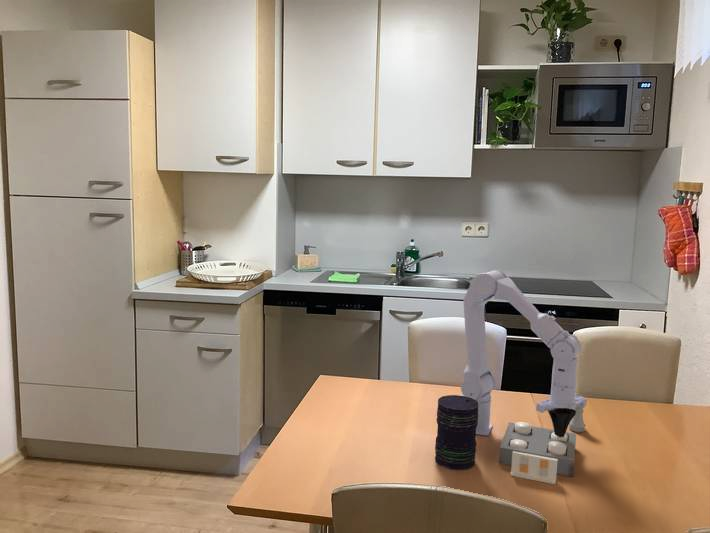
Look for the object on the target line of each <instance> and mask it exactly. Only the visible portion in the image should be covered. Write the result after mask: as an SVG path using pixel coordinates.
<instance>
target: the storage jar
mask: <svg viewBox="0 0 710 533" xmlns="http://www.w3.org/2000/svg"><path fill="white" fill-rule="evenodd" d="M459 395H460V394H458V395H456V394H452V395H443V396H441V397H439V398H437V399H438V400H437V409H436V424H437V432H436V437H435V445H434V452H435V457H434V461H435V463H436V464H437V465H439V466H440V467H442V468H444V469H447V470H453V471H465V470H469V469H473V467H474V466H476V455H477V440H476V437H477V436H476V435H477V434H476V428H477V424H478V402H477V401H476V400H474V399H472V398H469V397H466V396H459Z"/></svg>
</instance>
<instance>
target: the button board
mask: <svg viewBox="0 0 710 533" xmlns="http://www.w3.org/2000/svg"><path fill="white" fill-rule="evenodd" d="M515 423H516V422H515ZM515 423H514V422H508V424H507V427H506V429H505V433H504V434H503V437H502V440H501V443H500V445H499V453H498V464H503V465H509V466H512V452H513V451H515V452H521V453H526V454H532V455H537V456H542V457H548V458H553V459H558V461H557V474H556V475H561V476H565V477H567V476H568V477H571V478H573V475H574V466H575V456H576V455H575V454H576V453H575V452H576V443H577V442H576V441H577V433H576V432H575V433H574V432H570V431H566V433H565V434H566V435H567V436H568V438H567V441H561V440H555V439H551V433H553V432H554V429H550V428H546V427H545V428H544V427H538V426H532V425H531V435H526V434H520V433H515ZM514 439H518V440H523V441H525V442H526V443H527V449H523V448H517V447H512V446H510V441H511V440H514ZM552 441H557V442H562V443H564V444H565V445H566V456H562V455H556V454H551V453H548V447H549V442H552Z"/></svg>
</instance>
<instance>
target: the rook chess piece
mask: <svg viewBox="0 0 710 533" xmlns="http://www.w3.org/2000/svg"><path fill="white" fill-rule="evenodd" d="M585 407H586V406H582V405H581V406H576V408H575V409H574V410H575V411H576V415H575V416H574V417H573V418H572V420H571V421H570V423H569V425H568V428H569V430H570V431H571V432H573V433H574V432H575V433H584V432H585V431H586V423H585V421H584V417H583V416H584V414H583V413H584V412H585V410H584V408H585Z"/></svg>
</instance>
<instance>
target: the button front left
mask: <svg viewBox="0 0 710 533" xmlns="http://www.w3.org/2000/svg"><path fill="white" fill-rule="evenodd" d="M509 446H512V447H517V448H523V449H527V448H528V446H527V443H526V442H525V441H523V440H518V439H514V440H511V441H510V444H509Z"/></svg>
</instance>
